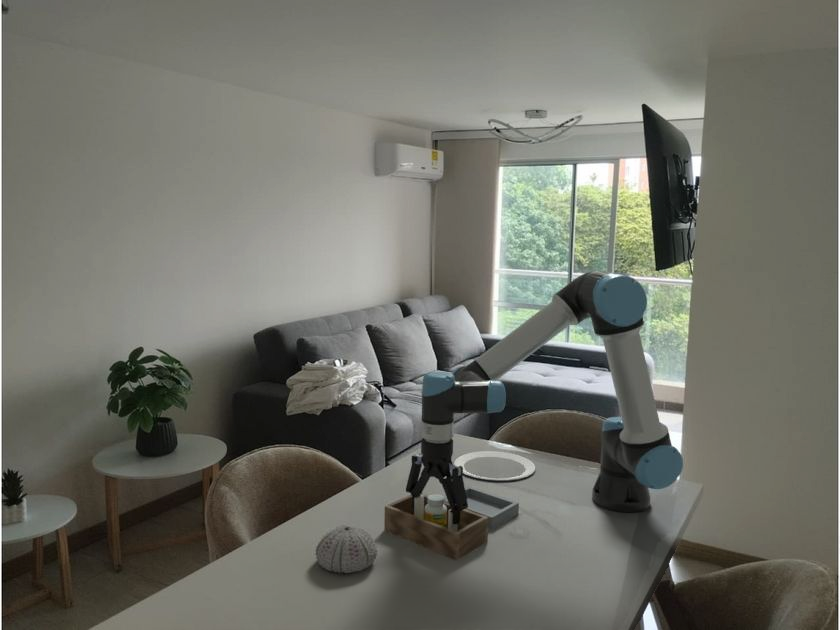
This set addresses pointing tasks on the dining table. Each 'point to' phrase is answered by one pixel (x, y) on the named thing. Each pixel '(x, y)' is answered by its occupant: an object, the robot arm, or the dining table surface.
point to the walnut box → (436, 529)
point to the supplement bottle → (436, 510)
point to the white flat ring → (527, 463)
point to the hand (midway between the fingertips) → (435, 529)
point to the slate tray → (490, 506)
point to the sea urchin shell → (346, 550)
